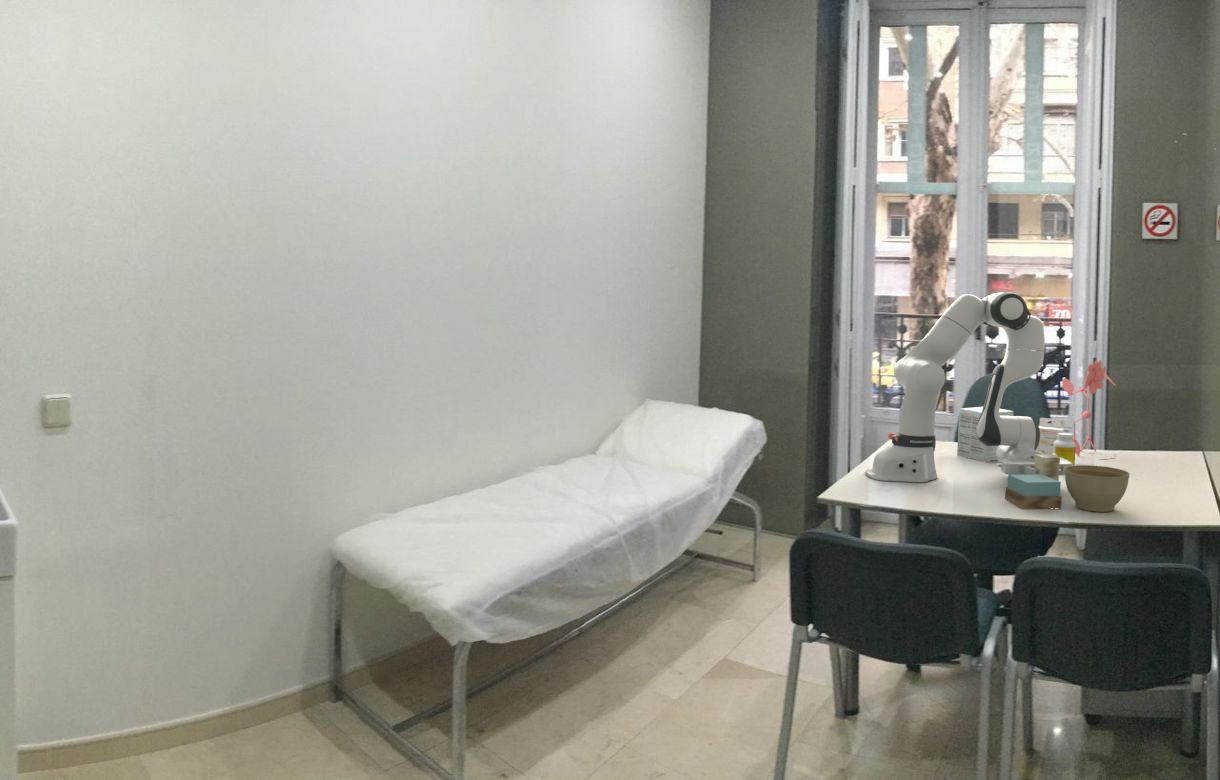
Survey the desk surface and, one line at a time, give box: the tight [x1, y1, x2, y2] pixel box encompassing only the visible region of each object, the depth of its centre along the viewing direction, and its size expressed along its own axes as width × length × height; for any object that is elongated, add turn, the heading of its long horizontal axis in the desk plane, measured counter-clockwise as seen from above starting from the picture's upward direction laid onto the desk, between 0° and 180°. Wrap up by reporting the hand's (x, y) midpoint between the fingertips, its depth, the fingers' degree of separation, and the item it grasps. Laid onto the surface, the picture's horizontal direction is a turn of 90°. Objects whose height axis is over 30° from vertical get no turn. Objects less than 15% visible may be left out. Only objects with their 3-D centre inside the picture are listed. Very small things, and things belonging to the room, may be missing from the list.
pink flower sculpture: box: [1061, 359, 1117, 461], centre depth 322 cm, size 15×26×35 cm, turn 121°
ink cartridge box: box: [1036, 417, 1065, 453], centre depth 316 cm, size 9×5×15 cm, turn 58°
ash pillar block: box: [1034, 454, 1060, 482], centre depth 265 cm, size 5×5×12 cm
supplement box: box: [956, 406, 1014, 462], centre depth 322 cm, size 13×13×18 cm
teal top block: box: [1007, 474, 1062, 496], centre depth 255 cm, size 10×10×4 cm
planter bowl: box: [1064, 464, 1131, 513], centre depth 251 cm, size 16×16×11 cm
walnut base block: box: [1004, 486, 1062, 510], centre depth 256 cm, size 11×11×4 cm
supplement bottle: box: [1053, 432, 1076, 466], centre depth 298 cm, size 7×7×13 cm
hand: (1047, 472), depth 264 cm, fingers closed on ash pillar block, 5 cm apart
